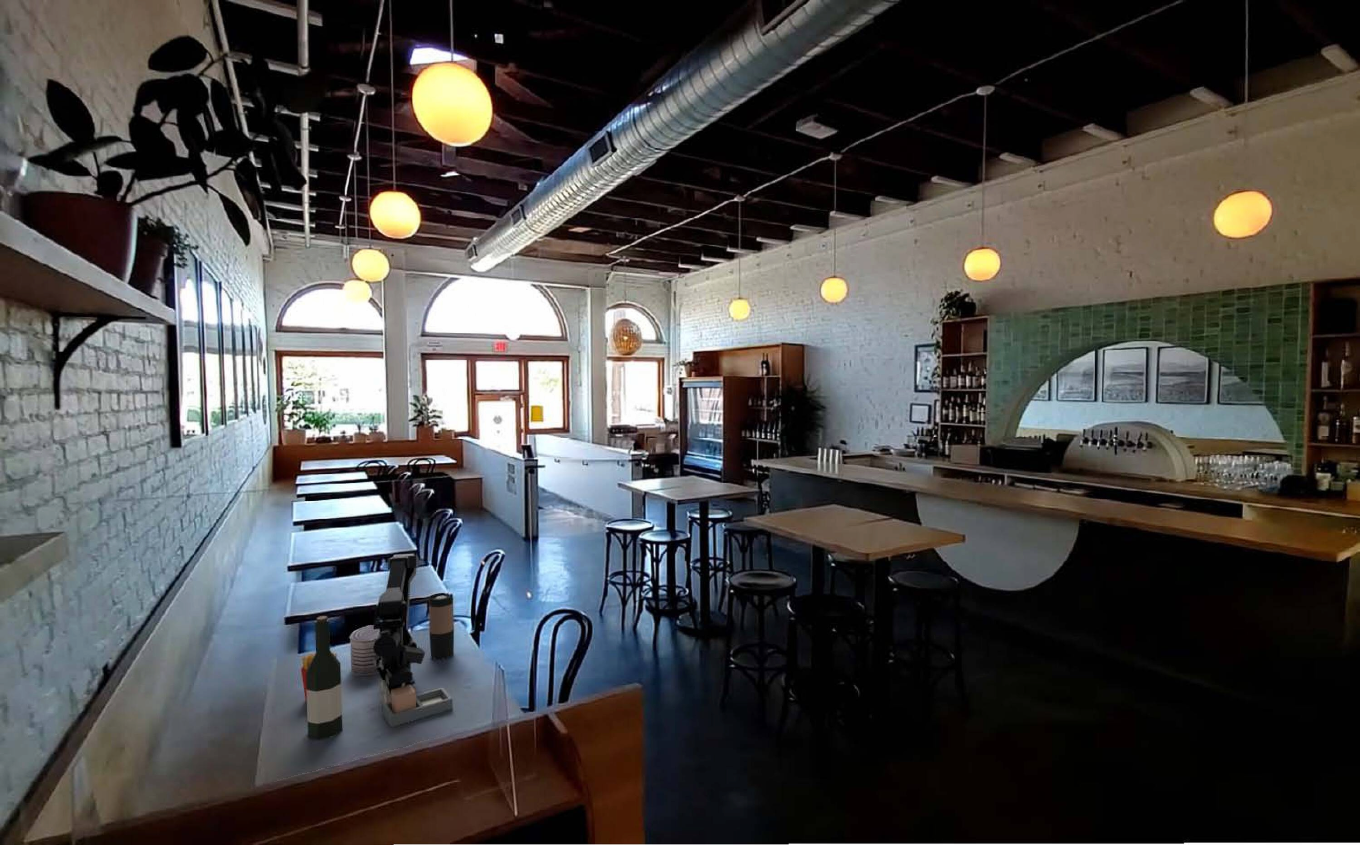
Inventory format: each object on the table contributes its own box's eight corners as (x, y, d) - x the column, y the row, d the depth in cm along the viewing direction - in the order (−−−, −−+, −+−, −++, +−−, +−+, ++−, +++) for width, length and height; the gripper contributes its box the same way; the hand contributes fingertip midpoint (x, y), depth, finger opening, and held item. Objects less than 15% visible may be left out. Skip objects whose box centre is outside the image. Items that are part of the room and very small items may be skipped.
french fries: (300, 703, 183) (298, 658, 182) (306, 696, 187) (305, 652, 186) (335, 700, 184) (333, 656, 183) (340, 693, 188) (339, 650, 188)
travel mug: (431, 661, 210) (430, 601, 209) (428, 653, 217) (427, 594, 216) (456, 657, 214) (454, 597, 212) (452, 649, 220) (451, 591, 219)
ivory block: (381, 701, 184) (381, 680, 184) (400, 696, 187) (400, 676, 187) (386, 708, 180) (385, 687, 180) (405, 703, 183) (404, 682, 183)
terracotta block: (391, 711, 176) (391, 689, 176) (410, 705, 179) (410, 684, 179) (396, 718, 172) (396, 696, 172) (416, 713, 175) (415, 691, 175)
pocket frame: (383, 714, 176) (383, 704, 176) (443, 697, 186) (442, 687, 186) (391, 727, 170) (390, 716, 170) (452, 709, 179) (452, 698, 179)
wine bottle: (316, 723, 172) (312, 612, 170) (349, 722, 173) (345, 611, 171) (300, 740, 164) (296, 624, 162) (335, 739, 164) (331, 623, 163)
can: (398, 665, 207) (397, 628, 207) (364, 679, 198) (363, 640, 197) (377, 657, 213) (376, 622, 213) (343, 670, 204) (342, 633, 203)
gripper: (431, 646, 180) (432, 701, 181) (412, 626, 195) (413, 677, 196) (388, 656, 173) (390, 713, 174) (372, 635, 188) (374, 687, 189)
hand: (393, 696), depth 183 cm, fingers closed on ivory block, 5 cm apart
